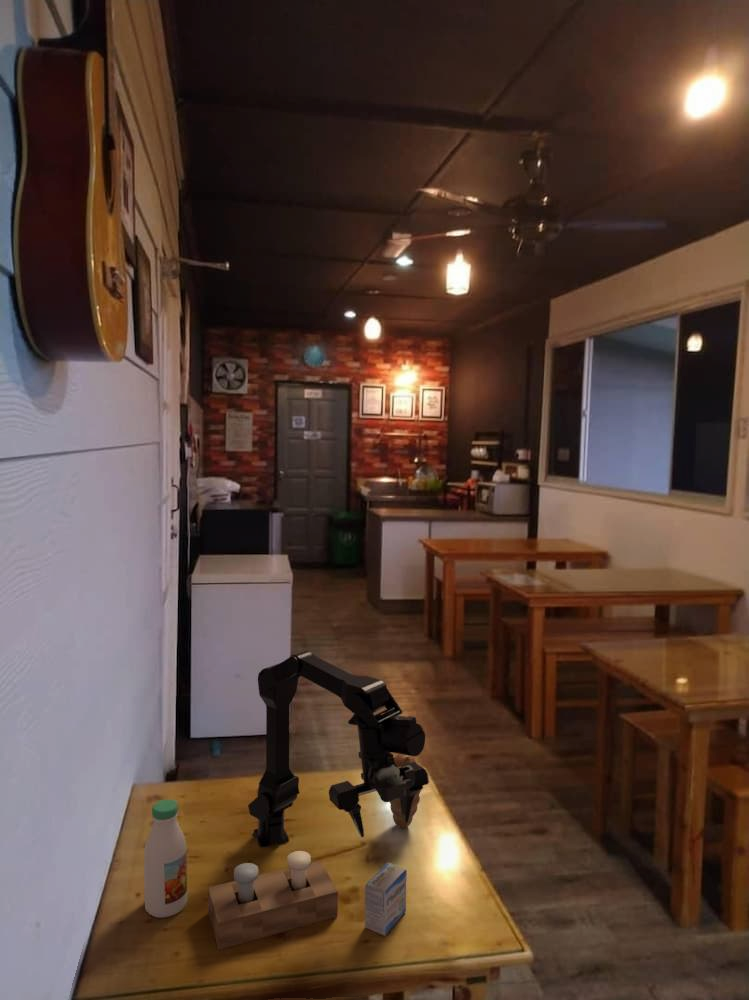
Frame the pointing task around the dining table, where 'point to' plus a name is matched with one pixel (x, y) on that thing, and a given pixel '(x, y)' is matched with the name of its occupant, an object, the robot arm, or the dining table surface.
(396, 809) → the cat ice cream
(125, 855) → the dining table surface
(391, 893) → the medicine box
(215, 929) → the walnut block
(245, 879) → the grey peg
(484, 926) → the dining table surface
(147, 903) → the milk bottle
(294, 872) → the cream peg
